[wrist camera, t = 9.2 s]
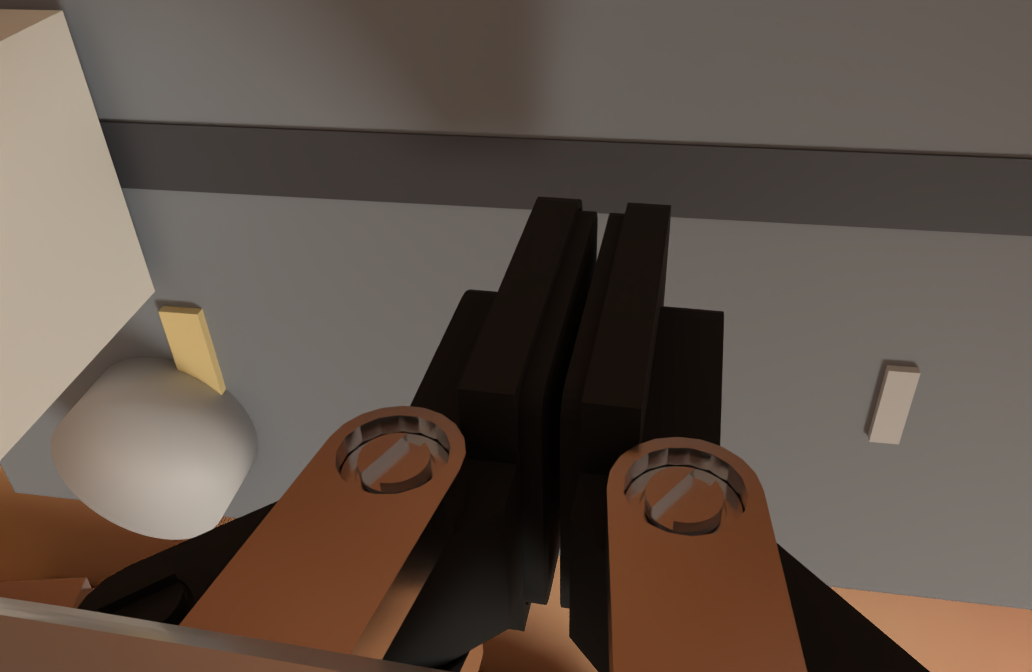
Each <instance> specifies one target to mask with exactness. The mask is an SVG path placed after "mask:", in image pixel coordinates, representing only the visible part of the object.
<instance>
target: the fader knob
mask: <svg viewBox="0 0 1032 672" xmlns="http://www.w3.org/2000/svg"><path fill="white" fill-rule="evenodd" d="M154 292H155V290H154V287H153V284H152V281H151V278H150V275H149V271H148V268H147V265H146V262H145V259H144V256H143V253H142V250H141V247H140V244H139V241H138V238H137V235H136V232H135V229H134V226H133V223H132V220H131V217H130V214H129V211H128V208H127V205H126V202H125V199H124V196H123V192H122V189H121V186H120V183H119V180H118V177H117V174H116V171H115V168H114V165H113V162H112V159H111V156H110V153H109V150H108V147H107V144H106V141H105V138H104V135H103V132H102V129H101V126H100V123H99V120H98V117H97V113H96V110H95V107H94V104H93V101H92V98H91V95H90V92H89V89H88V86H87V83H86V80H85V77H84V74H83V71H82V68H81V65H80V62H79V59H78V56H77V53H76V50H75V47H74V44H73V41H72V38H71V34H70V31H69V28H68V25H67V22H66V19H65V16H64V13H63V10H15V9H0V460H1V459H2V458H3V457H4V456H5V455H6V454H7V453H8V451H9V450H10V449H11V448H12V447H13V446H14V445H15V444H16V443H17V442H18V441H19V439H20V438H21V437H22V436H23V435H24V434H25V433H26V432H27V431H28V430H29V429H30V427H31V426H32V425H33V424H34V423H35V422H36V421H37V420H38V419H39V418H40V417H41V415H42V414H43V413H44V412H45V411H46V410H47V409H48V408H49V407H50V406H51V405H52V403H53V402H54V401H55V400H56V399H57V398H58V397H59V396H60V395H61V394H62V393H63V391H64V390H65V389H66V388H67V387H68V386H69V385H70V384H71V383H72V382H73V381H74V379H75V378H76V377H77V376H78V375H79V374H80V373H81V372H82V371H83V370H84V369H85V367H86V366H87V365H88V364H89V363H90V362H91V361H92V360H93V359H94V358H95V357H96V355H97V354H98V353H99V352H100V351H101V350H102V349H103V348H104V347H105V346H106V345H107V343H108V342H109V341H110V340H111V339H112V338H113V337H114V336H115V335H116V334H117V333H118V331H119V330H120V329H121V328H122V327H123V326H124V325H125V324H126V323H127V322H128V320H129V319H130V318H131V317H132V316H133V315H134V314H135V313H136V312H137V311H138V310H139V308H140V307H141V306H142V305H143V304H144V303H145V302H146V301H147V300H148V299H149V298H150V296H151V295H152V294H153V293H154Z"/></svg>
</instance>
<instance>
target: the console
mask: <svg viewBox="0 0 1032 672" xmlns="http://www.w3.org/2000/svg"><path fill="white" fill-rule="evenodd" d="M0 9H15V10H63V13H64V16H65V19H66V22H67V25H68V28H69V31H70V34H71V38H72V41H73V44H74V47H75V50H76V53H77V56H78V59H79V62H80V65H81V68H82V71H83V74H84V77H85V80H86V83H87V86H88V89H89V92H90V95H91V98H92V101H93V104H94V107H95V110H96V113H97V117H98V120H99V123H100V126H101V129H102V132H103V135H104V138H105V141H106V144H107V147H108V150H109V153H110V156H111V159H112V162H113V165H114V168H115V171H116V174H117V177H118V180H119V183H120V186H121V189H122V192H123V196H124V199H125V202H126V205H127V208H128V211H129V214H130V217H131V220H132V223H133V226H134V229H135V232H136V235H137V238H138V241H139V244H140V247H141V250H142V253H143V256H144V259H145V262H146V265H147V268H148V271H149V275H150V278H151V281H152V284H153V287H154V290H155V292H154V293H153V294H152V295H151V296H150V298H149V299H148V300H147V301H146V302H145V303H144V304H143V305H142V306H141V307H140V308H139V310H138V311H137V312H136V313H135V314H134V315H133V316H132V317H131V318H130V319H129V320H128V322H127V323H126V324H125V325H124V326H123V327H122V328H121V329H120V330H119V331H118V333H117V334H116V335H115V336H114V337H113V338H112V339H111V340H110V341H109V342H108V343H107V345H106V346H105V347H104V348H103V349H102V350H101V351H100V352H99V353H98V354H97V355H96V357H95V358H94V359H93V360H92V361H91V362H90V363H89V364H88V365H87V366H86V367H85V369H84V370H83V371H82V372H81V373H80V374H79V375H78V376H77V377H76V378H75V379H74V381H73V382H72V383H71V384H70V385H69V386H68V387H67V388H66V389H65V390H64V391H63V393H62V394H61V395H60V396H59V397H58V398H57V399H56V400H55V401H54V402H53V403H52V405H51V406H50V407H49V408H48V409H47V410H46V411H45V412H44V413H43V414H42V415H41V417H40V418H39V419H38V420H37V421H36V422H35V423H34V424H33V425H32V426H31V427H30V429H29V430H28V431H27V432H26V433H25V434H24V435H23V436H22V437H21V438H20V439H19V441H18V442H17V443H16V444H15V445H14V446H13V447H12V448H11V449H10V450H9V451H8V453H7V454H6V455H5V456H4V457H3V458H2V459H1V460H0V465H1V466H2V468H3V470H4V472H5V474H6V476H7V478H8V480H9V482H10V484H11V485H12V487H13V489H14V491H15V493H24V494H32V495H41V496H50V497H58V498H67V499H76V500H81V501H82V502H83V503H84V504H85V505H87V506H88V507H89V508H90V509H92V510H93V511H94V512H96V513H97V514H99V515H100V516H102V517H104V518H105V519H107V520H109V521H110V522H112V523H114V524H116V525H118V526H120V527H123V528H125V529H127V530H130V531H132V532H135V533H138V534H141V535H145V536H149V537H154V538H160V539H170V540H182V539H190V538H194V537H196V536H198V535H201V534H203V533H205V532H208V531H210V530H212V529H213V528H214V527H215V526H216V525H217V524H218V523H219V521H220V520H221V518H222V517H232V518H239V517H242V516H244V515H246V514H249V513H251V512H253V511H255V510H258V509H260V508H262V507H265V506H267V505H269V504H271V503H274V502H276V501H278V500H279V499H280V498H281V497H282V496H283V494H284V493H285V492H286V491H287V489H288V488H289V487H290V486H291V484H292V483H293V482H294V481H295V479H296V478H297V477H298V476H299V474H300V473H301V472H302V471H303V469H304V468H305V467H306V466H307V464H308V463H309V462H310V461H311V459H312V458H313V457H314V456H315V454H316V453H317V452H318V451H319V449H320V448H321V447H322V446H323V444H324V443H325V442H326V441H327V439H328V438H329V437H330V436H331V435H332V434H333V433H334V432H335V431H336V430H338V429H339V428H340V427H341V426H342V425H343V424H344V423H346V422H348V421H350V420H352V419H353V418H355V417H357V416H359V415H361V414H363V413H367V412H370V411H373V410H376V409H380V408H385V407H395V406H410V405H411V403H412V400H413V398H414V396H415V394H416V392H417V390H418V388H419V386H420V384H421V382H422V380H423V377H424V375H425V373H426V371H427V369H428V367H429V365H430V363H431V361H432V359H433V356H434V354H435V352H436V350H437V348H438V346H439V344H440V342H441V340H442V338H443V335H444V333H445V331H446V329H447V327H448V325H449V323H450V321H451V319H452V317H453V314H454V312H455V310H456V308H457V306H458V304H459V302H460V300H461V298H462V296H463V294H464V293H465V291H467V290H469V289H472V290H483V291H495V292H498V290H499V287H500V285H501V283H502V280H503V278H504V275H505V273H506V271H507V268H508V266H509V263H510V261H511V259H512V256H513V254H514V252H515V249H516V247H517V244H518V242H519V240H520V237H521V235H522V232H523V230H524V228H525V225H526V223H527V221H528V218H529V216H530V213H531V211H532V209H533V206H534V204H535V201H536V199H537V198H538V196H539V197H554V198H569V199H581V200H582V206H583V211H595V212H597V216H598V231H597V258H598V254H599V251H600V247H601V243H602V239H603V235H604V232H605V228H606V224H607V220H608V217H609V213H624V214H625V211H626V207H627V203H628V202H631V203H646V204H661V205H671V220H670V233H669V246H668V258H667V271H666V284H665V296H664V306H667V307H679V308H690V309H702V310H713V311H724V339H723V372H722V406H721V439H720V446H722V447H724V448H725V449H727V450H729V451H730V452H732V453H734V454H735V455H737V456H739V457H740V458H742V459H743V460H744V461H745V462H746V463H747V464H748V465H749V467H750V468H751V469H752V470H753V471H754V472H755V473H756V474H757V476H758V479H759V481H760V483H761V485H762V487H763V490H764V493H765V497H766V501H767V505H768V509H769V514H770V518H771V522H772V526H773V530H774V535H775V539H776V542H777V543H778V544H779V545H780V546H781V547H782V548H784V549H785V550H786V551H787V552H788V553H790V554H791V555H792V556H793V557H794V558H795V559H797V560H798V561H799V562H800V563H801V564H803V565H804V566H805V567H806V568H807V569H809V570H810V571H811V572H812V573H813V574H814V575H816V576H817V577H818V578H819V579H820V580H822V581H823V582H824V583H825V584H826V585H828V586H830V587H838V588H847V589H856V590H864V591H873V592H882V593H890V594H899V595H908V596H916V597H925V598H934V599H942V600H951V601H960V602H968V603H977V604H986V605H995V606H1003V607H1012V608H1021V609H1029V610H1032V0H0ZM559 555H560V550H559Z"/></svg>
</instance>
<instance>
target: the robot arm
mask: <svg viewBox="0 0 1032 672" xmlns="http://www.w3.org/2000/svg"><path fill="white" fill-rule="evenodd" d="M670 220H671V205H661V204H646V203H631V202H628V203H627V207H626V211H625V214H624V213H609V217H608V220H607V224H606V228H605V232H604V235H603V239H602V243H601V247H600V251H599V254H598V258H597V231H598V216H597V212H595V211H583V206H582V200H581V199H569V198H554V197H539V196H538V198H537V199H536V201H535V204H534V206H533V209H532V211H531V213H530V216H529V218H528V221H527V223H526V225H525V228H524V230H523V232H522V235H521V237H520V240H519V242H518V244H517V247H516V249H515V252H514V254H513V256H512V259H511V261H510V263H509V266H508V268H507V271H506V273H505V275H504V278H503V280H502V283H501V285H500V287H499V290H498V292H495V291H483V290H472V289H469V290H467V291H465V293H464V294H463V296H462V298H461V300H460V302H459V304H458V306H457V308H456V310H455V312H454V314H453V317H452V319H451V321H450V323H449V325H448V327H447V329H446V331H445V333H444V335H443V338H442V340H441V342H440V344H439V346H438V348H437V350H436V352H435V354H434V356H433V359H432V361H431V363H430V365H429V367H428V369H427V371H426V373H425V375H424V377H423V380H422V382H421V384H420V386H419V388H418V390H417V392H416V394H415V396H414V398H413V400H412V403H411V405H410V406H395V407H385V408H380V409H376V410H373V411H370V412H367V413H363V414H361V415H359V416H357V417H355V418H353V419H352V420H350V421H348V422H346V423H344V424H343V425H342V426H341V427H340V428H339V429H338V430H336V431H335V432H334V433H333V434H332V435H331V436H330V437H329V438H328V439H327V441H326V442H325V443H324V444H323V446H322V447H321V448H320V449H319V451H318V452H317V453H316V454H315V456H314V457H313V458H312V459H311V461H310V462H309V463H308V464H307V466H306V467H305V468H304V469H303V471H302V472H301V473H300V474H299V476H298V477H297V478H296V479H295V481H294V482H293V483H292V484H291V486H290V487H289V488H288V489H287V491H286V492H285V493H284V494H283V496H282V497H281V498H280V499H279V500H278V501H276V502H274V503H271V504H269V505H267V506H265V507H262V508H260V509H258V510H255V511H253V512H251V513H249V514H246V515H244V516H242V517H239V518H237V519H235V520H233V521H230V522H228V523H226V524H224V525H221V526H219V527H217V528H214V529H212V530H210V531H208V532H205V533H203V534H201V535H198V536H196V537H194V538H192V539H189V540H187V541H185V542H182V543H180V544H178V545H176V546H173V547H171V548H169V549H167V550H164V551H162V552H160V553H157V554H155V555H153V556H151V557H148V558H146V559H144V560H141V561H139V562H137V563H135V564H132V565H130V566H128V567H126V568H125V569H123V570H121V571H119V572H117V573H116V574H114V575H112V576H110V577H108V578H107V579H105V580H104V581H103V582H102V583H101V584H100V585H98V586H97V587H96V588H91V585H90V583H89V581H88V579H87V577H77V578H57V579H37V580H16V581H0V672H478V670H479V667H480V664H481V660H482V656H483V643H484V642H486V641H488V640H490V639H491V638H493V637H495V636H497V635H498V634H500V633H502V632H503V631H505V630H507V629H514V630H520V631H524V630H525V626H526V622H527V618H528V613H529V609H530V605H531V603H537V604H544V605H546V604H547V602H548V600H549V596H550V591H551V587H552V582H553V578H554V573H555V568H556V564H557V559H558V555H559V550H560V604H561V607H563V608H570V624H569V637H570V638H571V639H572V641H573V642H574V643H575V644H576V645H577V647H578V648H579V649H580V650H581V651H582V653H583V654H584V655H585V656H586V657H587V659H588V660H589V661H590V662H591V663H592V665H593V666H594V667H595V668H596V669H597V671H598V672H930V671H928V670H927V669H926V668H925V667H924V666H922V665H921V664H920V663H919V662H918V661H917V660H915V659H914V658H913V657H912V656H911V655H909V654H908V653H907V652H906V651H905V650H903V649H902V648H901V647H900V646H899V645H898V644H896V643H895V642H894V641H893V640H892V639H890V638H889V637H888V636H887V635H886V634H884V633H883V632H882V631H881V630H880V629H879V628H877V627H876V626H875V625H874V624H873V623H871V622H870V621H869V620H868V619H867V618H865V617H864V616H863V615H862V614H861V613H860V612H858V611H857V610H856V609H855V608H854V607H852V606H851V605H850V604H849V603H848V602H847V601H845V600H844V599H843V598H842V597H841V596H839V595H838V594H837V593H836V592H835V591H833V590H832V589H831V588H830V587H829V586H828V585H826V584H825V583H824V582H823V581H822V580H820V579H819V578H818V577H817V576H816V575H814V574H813V573H812V572H811V571H810V570H809V569H807V568H806V567H805V566H804V565H803V564H801V563H800V562H799V561H798V560H797V559H795V558H794V557H793V556H792V555H791V554H790V553H788V552H787V551H786V550H785V549H784V548H782V547H781V546H780V545H779V544H778V543H777V542H776V539H775V535H774V530H773V526H772V522H771V518H770V514H769V509H768V505H767V501H766V497H765V493H764V490H763V487H762V485H761V483H760V481H759V479H758V476H757V474H756V473H755V472H754V471H753V470H752V469H751V468H750V467H749V465H748V464H747V463H746V462H745V461H744V460H743V459H742V458H740V457H739V456H737V455H735V454H734V453H732V452H730V451H729V450H727V449H725V448H724V447H722V446H720V439H721V406H722V372H723V339H724V311H713V310H702V309H690V308H679V307H667V306H664V296H665V284H666V271H667V258H668V246H669V233H670Z"/></svg>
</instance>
